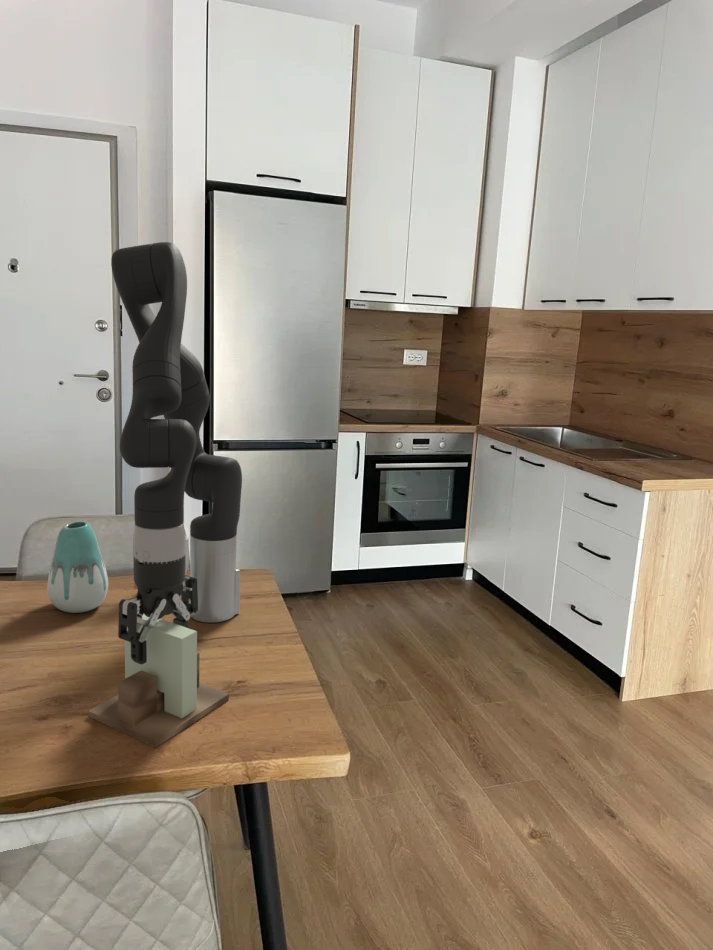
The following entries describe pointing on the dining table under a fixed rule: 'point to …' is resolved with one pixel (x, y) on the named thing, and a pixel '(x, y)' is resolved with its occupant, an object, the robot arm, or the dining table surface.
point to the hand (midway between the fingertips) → (160, 651)
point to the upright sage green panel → (170, 664)
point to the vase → (77, 570)
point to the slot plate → (152, 709)
